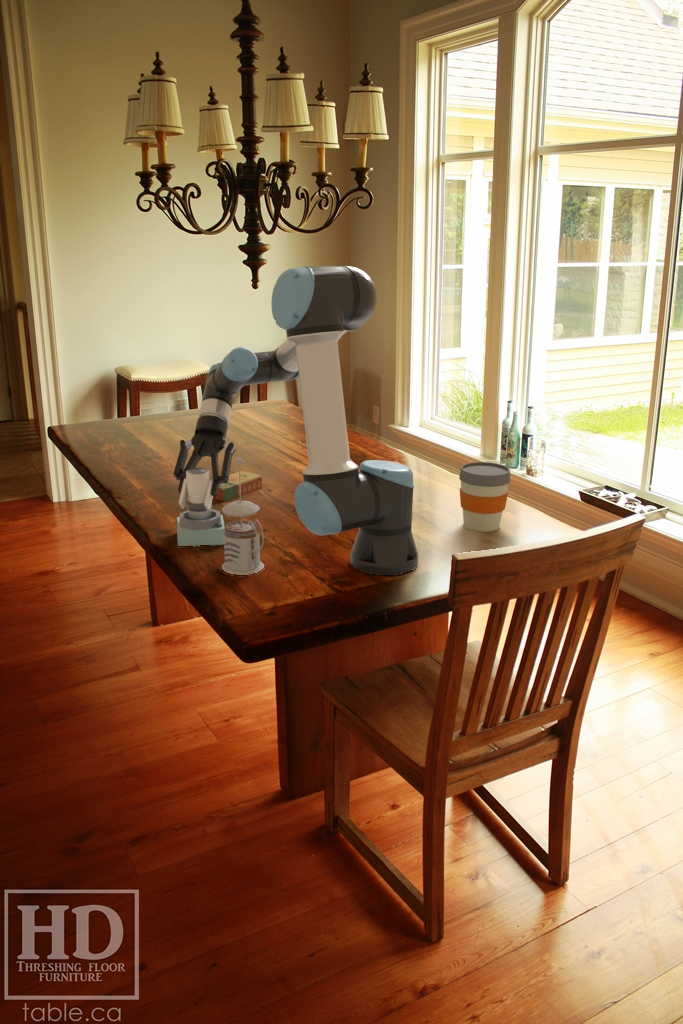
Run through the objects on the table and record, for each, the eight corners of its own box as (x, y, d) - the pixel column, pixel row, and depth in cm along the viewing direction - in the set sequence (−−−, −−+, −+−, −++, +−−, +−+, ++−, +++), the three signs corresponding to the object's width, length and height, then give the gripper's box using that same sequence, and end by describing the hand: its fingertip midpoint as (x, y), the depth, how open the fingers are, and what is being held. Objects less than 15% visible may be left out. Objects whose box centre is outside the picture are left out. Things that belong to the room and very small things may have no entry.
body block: (225, 544, 199) (224, 520, 197) (178, 547, 197) (176, 523, 195) (223, 529, 208) (222, 507, 206) (177, 532, 206) (176, 509, 204)
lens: (212, 519, 198) (210, 473, 195) (188, 520, 197) (185, 474, 194) (211, 511, 204) (209, 466, 200) (187, 512, 203) (185, 467, 199)
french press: (247, 555, 193) (243, 449, 184) (279, 570, 185) (277, 460, 176) (211, 566, 186) (206, 457, 178) (243, 582, 178) (239, 469, 170)
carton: (262, 489, 241) (262, 475, 239) (223, 503, 228) (223, 488, 227) (241, 483, 245) (240, 469, 244) (201, 497, 233) (201, 482, 232)
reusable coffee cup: (486, 514, 221) (490, 459, 216) (516, 529, 210) (521, 472, 205) (446, 521, 215) (449, 465, 210) (475, 537, 205) (479, 478, 200)
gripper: (252, 431, 208) (236, 516, 198) (181, 428, 211) (161, 511, 201) (246, 415, 201) (228, 502, 191) (172, 411, 204) (151, 497, 194)
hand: (194, 506), depth 196 cm, fingers closed on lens, 5 cm apart
